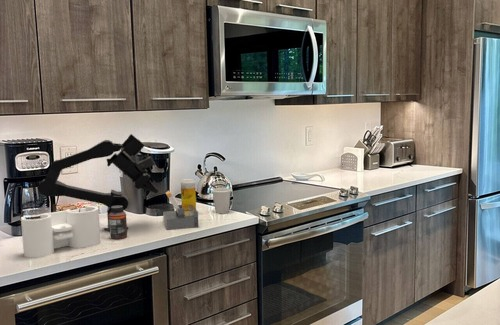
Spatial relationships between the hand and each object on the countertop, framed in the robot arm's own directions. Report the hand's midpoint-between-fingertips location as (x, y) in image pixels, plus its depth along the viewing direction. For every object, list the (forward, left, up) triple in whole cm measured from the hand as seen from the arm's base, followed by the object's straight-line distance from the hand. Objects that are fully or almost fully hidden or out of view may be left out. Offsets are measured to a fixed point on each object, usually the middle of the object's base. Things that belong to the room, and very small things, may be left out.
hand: (157, 192), depth 190 cm
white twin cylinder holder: (-3, -38, -14) cm, 41 cm away
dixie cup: (+4, +32, -14) cm, 35 cm away
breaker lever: (+5, +7, -9) cm, 12 cm away
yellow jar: (-5, +21, -14) cm, 26 cm away
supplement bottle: (+1, -19, -14) cm, 23 cm away
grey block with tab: (+5, +7, -13) cm, 16 cm away
